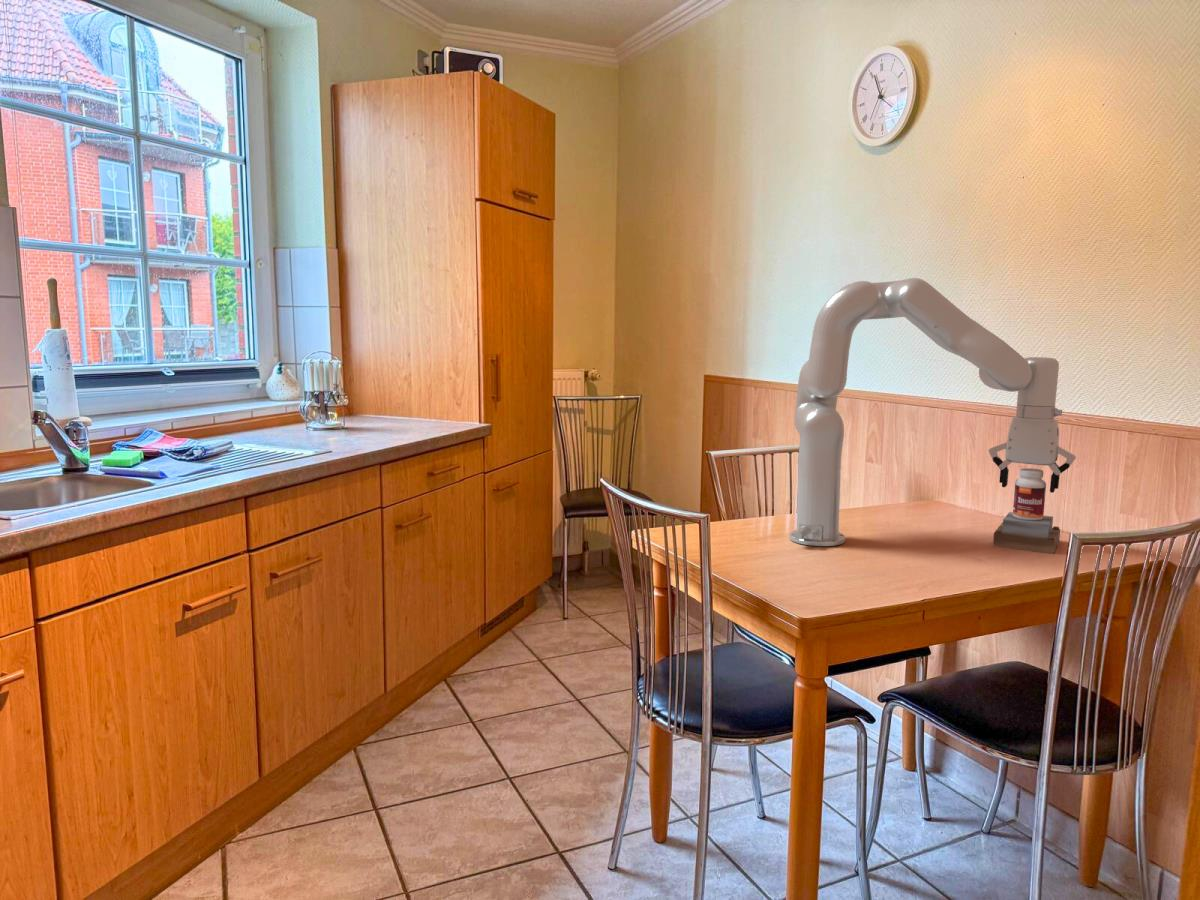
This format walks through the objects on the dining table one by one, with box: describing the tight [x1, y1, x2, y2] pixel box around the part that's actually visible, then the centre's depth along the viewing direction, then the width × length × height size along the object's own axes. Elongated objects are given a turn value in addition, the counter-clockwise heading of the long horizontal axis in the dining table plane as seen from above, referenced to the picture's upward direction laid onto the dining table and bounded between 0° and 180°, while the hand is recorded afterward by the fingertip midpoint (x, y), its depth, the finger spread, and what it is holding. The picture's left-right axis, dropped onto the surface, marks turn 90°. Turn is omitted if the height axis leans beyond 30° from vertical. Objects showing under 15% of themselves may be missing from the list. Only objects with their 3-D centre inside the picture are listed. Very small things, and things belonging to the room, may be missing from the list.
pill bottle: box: [1012, 467, 1047, 521], centre depth 184 cm, size 6×6×11 cm
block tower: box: [992, 511, 1061, 555], centre depth 185 cm, size 12×12×6 cm
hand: (1028, 488), depth 184 cm, fingers open, 9 cm apart
